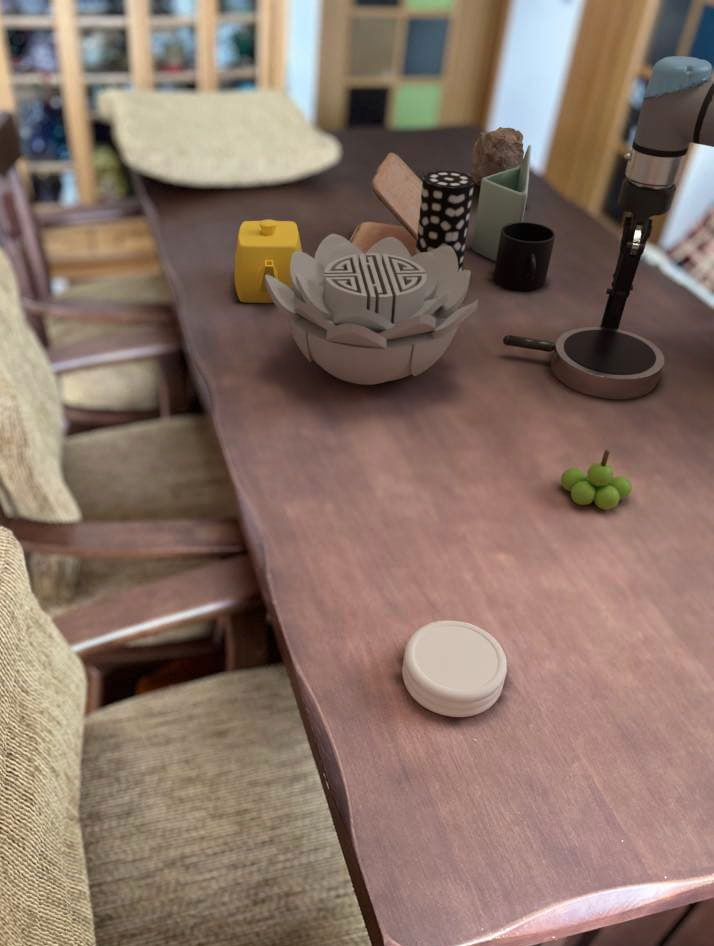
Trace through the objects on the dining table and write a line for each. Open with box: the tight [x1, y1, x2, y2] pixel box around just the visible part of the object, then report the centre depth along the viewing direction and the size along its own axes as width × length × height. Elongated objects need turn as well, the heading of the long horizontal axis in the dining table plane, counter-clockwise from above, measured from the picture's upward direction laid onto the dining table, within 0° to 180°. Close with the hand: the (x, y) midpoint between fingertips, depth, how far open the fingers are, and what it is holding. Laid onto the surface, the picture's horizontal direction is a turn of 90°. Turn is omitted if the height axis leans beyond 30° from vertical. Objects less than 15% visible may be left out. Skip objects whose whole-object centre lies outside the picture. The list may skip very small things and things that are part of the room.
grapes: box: [560, 449, 633, 511], centre depth 101 cm, size 9×5×8 cm, turn 73°
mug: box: [493, 221, 556, 292], centre depth 148 cm, size 9×12×9 cm
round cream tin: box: [401, 619, 508, 718], centre depth 81 cm, size 10×10×4 cm
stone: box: [470, 127, 532, 188], centre depth 180 cm, size 22×10×15 cm, turn 8°
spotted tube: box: [415, 169, 475, 272], centre depth 140 cm, size 8×8×20 cm
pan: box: [502, 326, 665, 400], centre depth 127 cm, size 24×16×4 cm, turn 73°
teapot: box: [233, 218, 303, 304], centre depth 144 cm, size 20×12×12 cm, turn 1°
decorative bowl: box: [265, 233, 479, 386], centre depth 123 cm, size 30×30×15 cm
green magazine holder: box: [471, 144, 532, 263], centre depth 155 cm, size 16×8×20 cm, turn 172°
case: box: [348, 152, 423, 257], centre depth 155 cm, size 20×21×16 cm
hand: (608, 329), depth 135 cm, fingers closed
